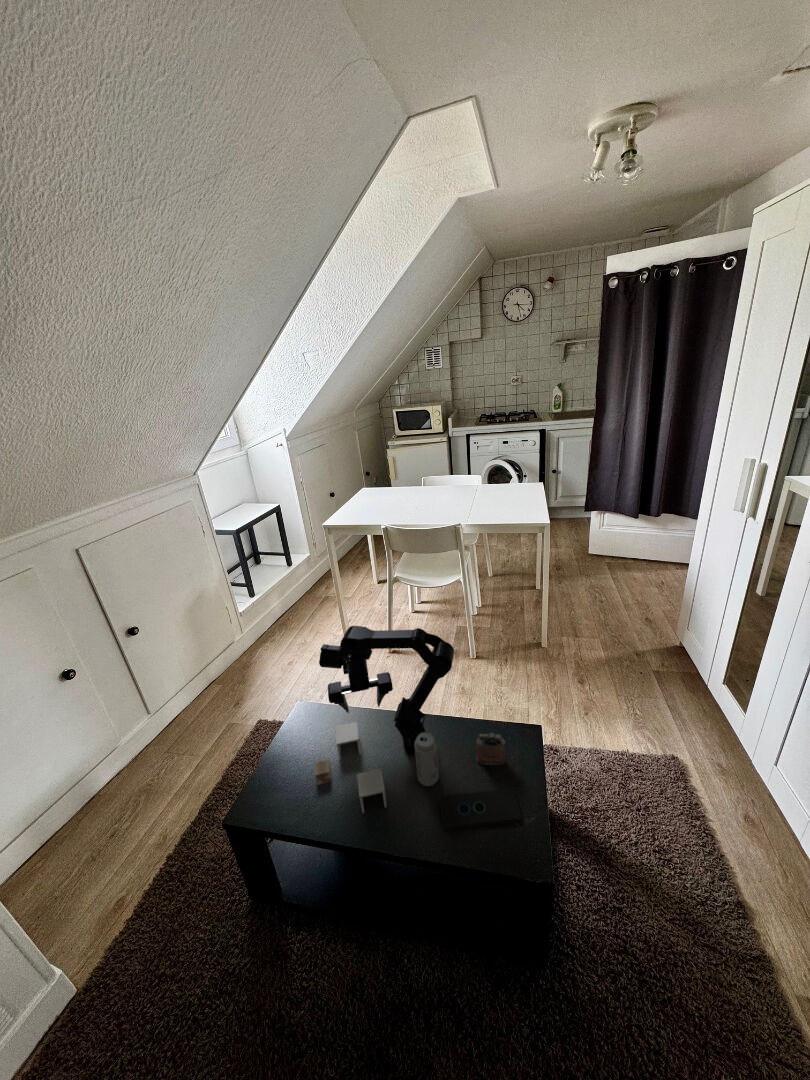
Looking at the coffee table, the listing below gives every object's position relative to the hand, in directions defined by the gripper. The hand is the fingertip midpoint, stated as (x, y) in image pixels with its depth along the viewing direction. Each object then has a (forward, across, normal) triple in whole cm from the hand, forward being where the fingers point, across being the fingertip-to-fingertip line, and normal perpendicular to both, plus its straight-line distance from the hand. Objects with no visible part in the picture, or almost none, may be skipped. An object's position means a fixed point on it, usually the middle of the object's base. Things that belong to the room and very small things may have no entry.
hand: (363, 708), depth 127 cm
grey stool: (+12, +1, +20) cm, 24 cm away
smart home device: (+13, -26, +30) cm, 42 cm away
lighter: (+13, -34, +17) cm, 40 cm away
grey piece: (+12, +6, +2) cm, 14 cm away
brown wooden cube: (+13, +14, +10) cm, 21 cm away
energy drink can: (+13, -15, +18) cm, 27 cm away
